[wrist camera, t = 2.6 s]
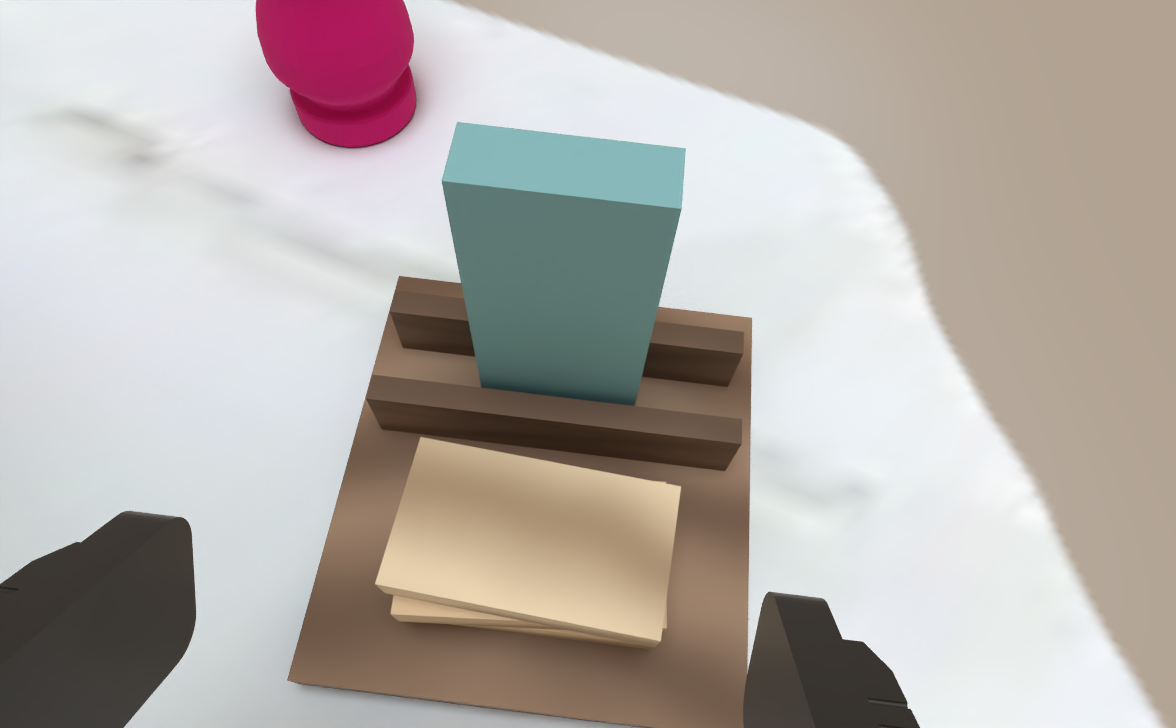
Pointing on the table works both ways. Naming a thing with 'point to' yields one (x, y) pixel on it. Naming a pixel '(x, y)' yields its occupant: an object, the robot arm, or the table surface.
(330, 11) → the pepper mill
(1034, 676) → the table surface
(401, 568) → the offcut top
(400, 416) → the rack
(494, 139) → the teal rectangular block
